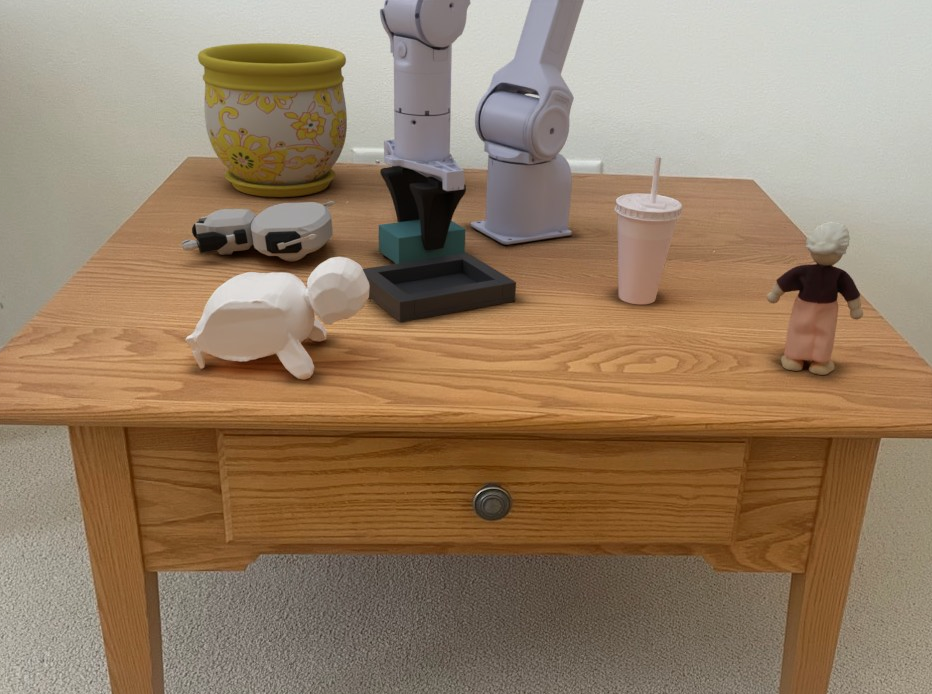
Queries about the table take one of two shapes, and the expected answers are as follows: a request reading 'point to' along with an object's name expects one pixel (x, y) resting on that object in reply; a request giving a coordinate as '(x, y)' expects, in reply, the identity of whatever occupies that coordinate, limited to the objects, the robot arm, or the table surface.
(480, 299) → the mount
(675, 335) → the table surface
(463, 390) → the table surface
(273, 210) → the robot toy
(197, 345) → the white turtle figure
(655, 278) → the smoothie
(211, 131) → the flowerpot
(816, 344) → the grandmother figurine
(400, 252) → the teal rectangular block
